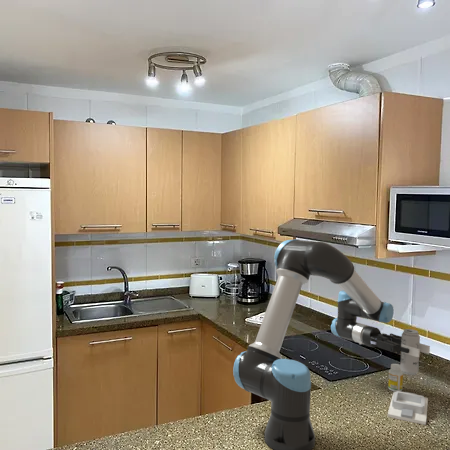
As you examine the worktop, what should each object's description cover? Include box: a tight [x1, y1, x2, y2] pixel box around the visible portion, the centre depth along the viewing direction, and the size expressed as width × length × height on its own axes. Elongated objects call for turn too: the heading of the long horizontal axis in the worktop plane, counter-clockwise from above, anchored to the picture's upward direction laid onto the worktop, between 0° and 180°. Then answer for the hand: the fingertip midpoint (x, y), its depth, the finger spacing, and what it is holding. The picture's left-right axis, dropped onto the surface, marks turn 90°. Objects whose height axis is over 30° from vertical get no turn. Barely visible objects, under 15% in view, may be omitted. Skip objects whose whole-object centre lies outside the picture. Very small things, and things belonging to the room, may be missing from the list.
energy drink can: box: [399, 328, 421, 376], centre depth 157 cm, size 6×6×15 cm
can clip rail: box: [387, 391, 429, 426], centre depth 158 cm, size 21×12×4 cm, turn 154°
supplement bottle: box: [387, 363, 404, 392], centre depth 175 cm, size 5×5×10 cm
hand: (424, 351), depth 153 cm, fingers closed on energy drink can, 6 cm apart
